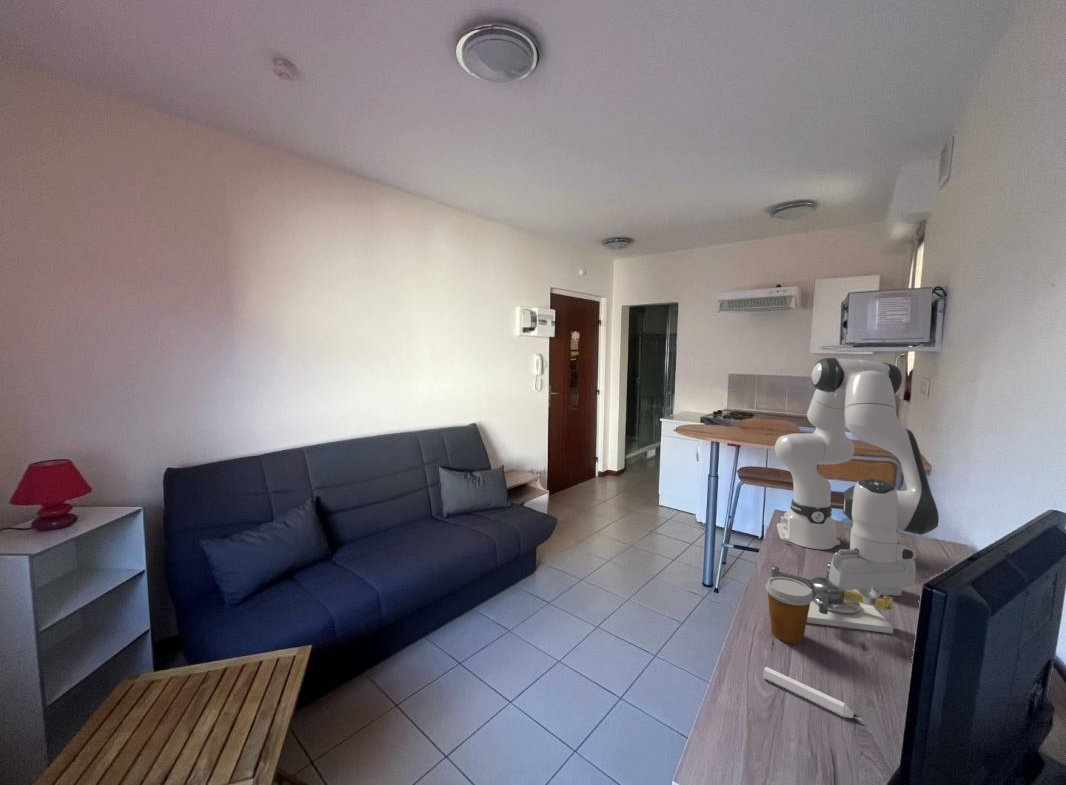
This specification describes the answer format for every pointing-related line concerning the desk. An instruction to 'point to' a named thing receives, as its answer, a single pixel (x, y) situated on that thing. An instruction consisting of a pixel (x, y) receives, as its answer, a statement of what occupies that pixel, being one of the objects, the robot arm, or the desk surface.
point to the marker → (809, 693)
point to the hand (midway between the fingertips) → (869, 603)
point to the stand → (851, 618)
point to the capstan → (834, 594)
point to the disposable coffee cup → (788, 608)
